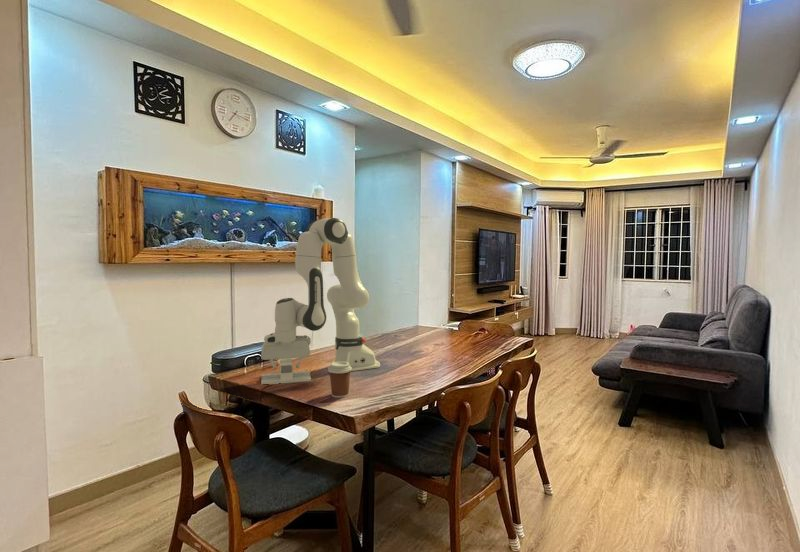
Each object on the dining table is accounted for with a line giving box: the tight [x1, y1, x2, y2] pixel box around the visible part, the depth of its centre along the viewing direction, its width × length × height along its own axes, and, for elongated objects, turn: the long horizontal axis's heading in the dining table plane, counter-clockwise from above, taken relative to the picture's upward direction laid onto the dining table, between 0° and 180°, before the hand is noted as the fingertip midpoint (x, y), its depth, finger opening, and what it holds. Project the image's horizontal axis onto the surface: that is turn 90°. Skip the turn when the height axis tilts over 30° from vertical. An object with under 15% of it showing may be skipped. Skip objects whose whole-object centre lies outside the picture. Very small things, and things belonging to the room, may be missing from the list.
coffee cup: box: [327, 361, 353, 399], centre depth 159 cm, size 9×9×12 cm
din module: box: [279, 358, 294, 380], centre depth 179 cm, size 5×9×7 cm, turn 17°
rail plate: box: [260, 370, 312, 386], centre depth 180 cm, size 20×12×2 cm, turn 107°
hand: (286, 368), depth 180 cm, fingers open, 8 cm apart
